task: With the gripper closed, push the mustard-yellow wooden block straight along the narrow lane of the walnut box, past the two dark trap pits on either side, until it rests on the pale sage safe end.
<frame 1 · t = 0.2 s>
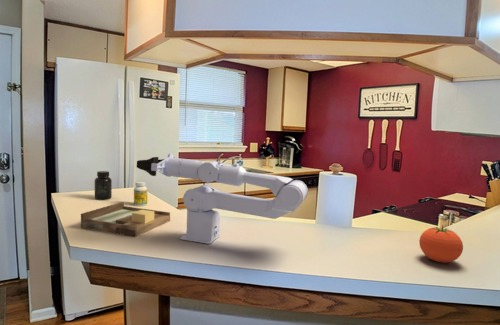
hand: (145, 163, 101), 21 cm above the counter, tool horizontal, fingers open, 7 cm apart
tomato: (438, 261, 88), on the counter
block: (143, 220, 105), point 2 cm above the counter, touching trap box
supplement bottle 2: (140, 205, 134), on the counter
supplement bottle: (103, 199, 142), on the counter
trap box: (130, 224, 107), on the counter
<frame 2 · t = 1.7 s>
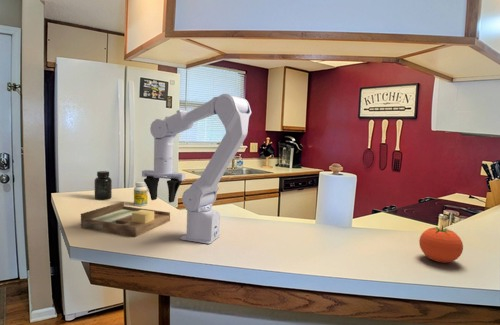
hand: (162, 200, 103), 9 cm above the counter, tool pointing down, fingers open, 6 cm apart
nothing on the counter moved.
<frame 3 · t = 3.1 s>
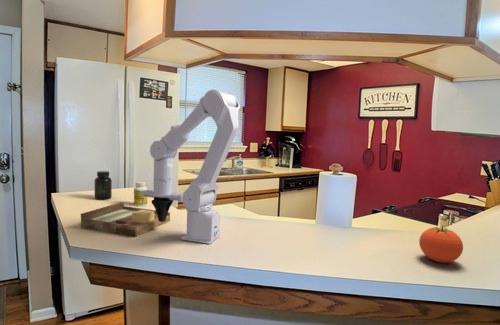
hand: (162, 220, 103), 3 cm above the counter, tool pointing down, fingers closed
nothing on the counter moved.
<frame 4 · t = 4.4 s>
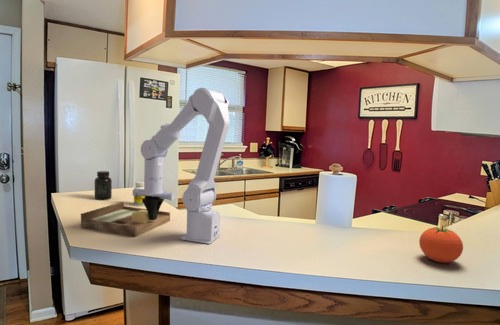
hand: (153, 219, 104), 3 cm above the counter, tool pointing down, fingers closed
block: (143, 220, 105), point 2 cm above the counter, touching gripper, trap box
everything else where it was.
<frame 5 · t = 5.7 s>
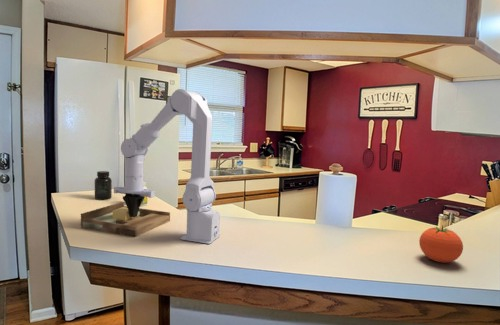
hand: (133, 216, 107), 3 cm above the counter, tool pointing down, fingers closed
block: (124, 217, 108), point 2 cm above the counter, touching gripper
everything else where it was.
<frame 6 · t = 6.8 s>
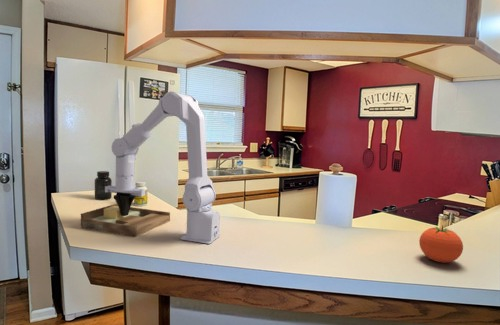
hand: (124, 215, 108), 3 cm above the counter, tool pointing down, fingers closed
block: (115, 216, 109), point 2 cm above the counter, touching gripper, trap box
everything else where it was.
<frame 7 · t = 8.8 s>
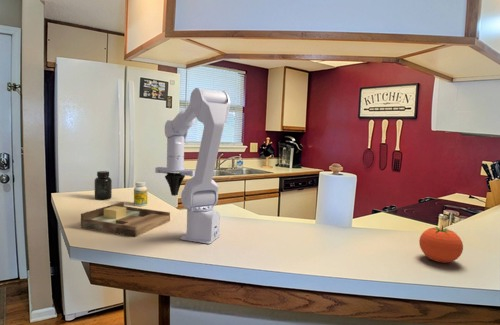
hand: (174, 195, 112), 9 cm above the counter, tool pointing down, fingers closed
block: (115, 216, 109), point 2 cm above the counter, touching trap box
everything else where it was.
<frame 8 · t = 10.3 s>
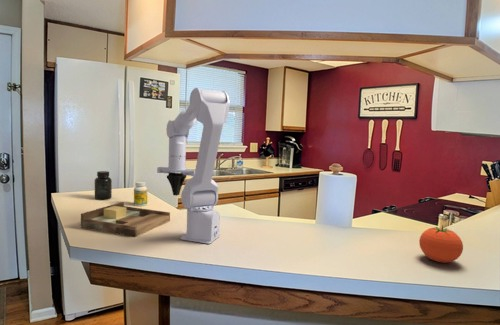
hand: (176, 194, 112), 9 cm above the counter, tool pointing down, fingers closed
nothing on the counter moved.
at the end: block 0.8 cm from the target spot on the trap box, point 2.0 cm above the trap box's base; block tilted 0° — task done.
